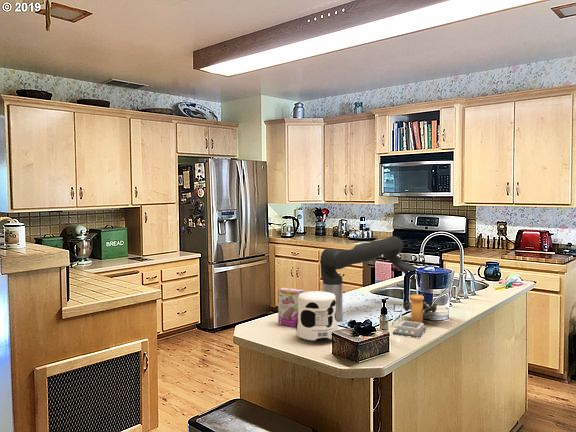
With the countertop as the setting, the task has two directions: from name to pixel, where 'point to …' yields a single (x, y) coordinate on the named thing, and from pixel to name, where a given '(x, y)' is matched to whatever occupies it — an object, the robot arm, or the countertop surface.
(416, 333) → the breaker panel
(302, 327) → the milk container
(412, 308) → the orange flared cylinder
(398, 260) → the robot arm
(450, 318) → the countertop surface
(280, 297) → the candy bar box
